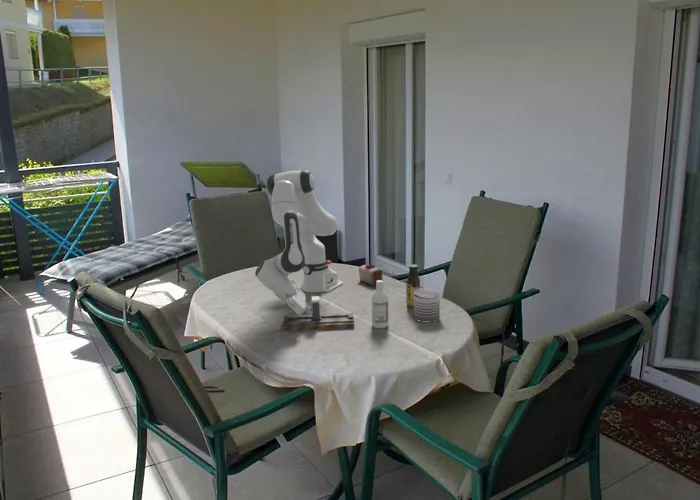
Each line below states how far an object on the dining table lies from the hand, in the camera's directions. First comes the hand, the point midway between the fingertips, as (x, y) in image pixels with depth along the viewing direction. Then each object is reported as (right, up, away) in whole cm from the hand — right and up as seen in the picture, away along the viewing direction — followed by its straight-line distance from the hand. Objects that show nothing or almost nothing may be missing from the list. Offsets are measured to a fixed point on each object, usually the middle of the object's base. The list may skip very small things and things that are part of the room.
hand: (311, 312), depth 274 cm
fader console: (+3, -6, +2) cm, 7 cm away
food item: (+28, +9, +57) cm, 64 cm away
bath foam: (+30, -6, -2) cm, 30 cm away
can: (+50, -3, +6) cm, 51 cm away
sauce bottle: (+46, 0, +21) cm, 50 cm away
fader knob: (+2, -3, +1) cm, 4 cm away
